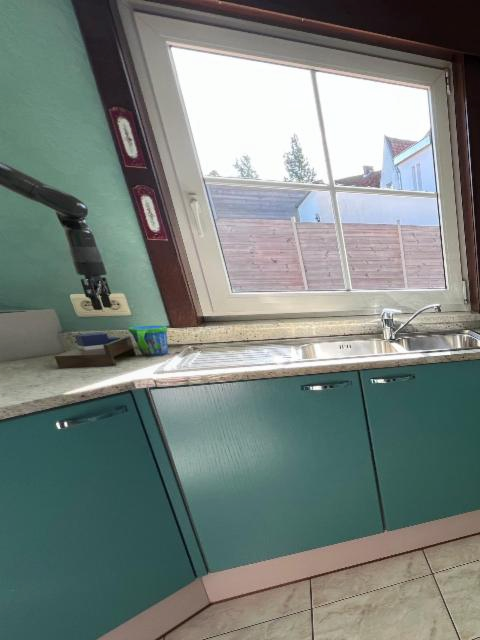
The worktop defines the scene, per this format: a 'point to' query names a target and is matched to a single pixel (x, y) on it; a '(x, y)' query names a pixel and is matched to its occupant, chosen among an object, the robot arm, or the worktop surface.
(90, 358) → the wooden display stand
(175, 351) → the worktop surface
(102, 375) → the worktop surface
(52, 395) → the worktop surface
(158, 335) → the snack cup
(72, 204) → the robot arm
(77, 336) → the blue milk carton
